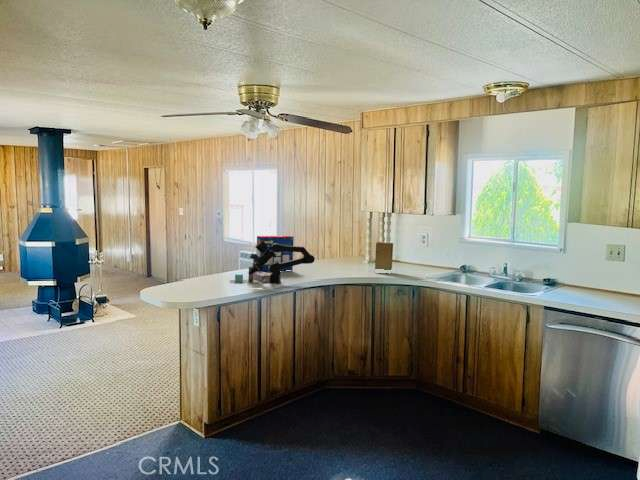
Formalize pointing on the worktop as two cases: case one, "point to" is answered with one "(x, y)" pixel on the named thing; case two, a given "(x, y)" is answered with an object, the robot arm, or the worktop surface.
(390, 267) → the food packaging
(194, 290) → the worktop surface
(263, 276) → the candy bar box
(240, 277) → the teal block
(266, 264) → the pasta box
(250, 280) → the walnut strip
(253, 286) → the worktop surface
